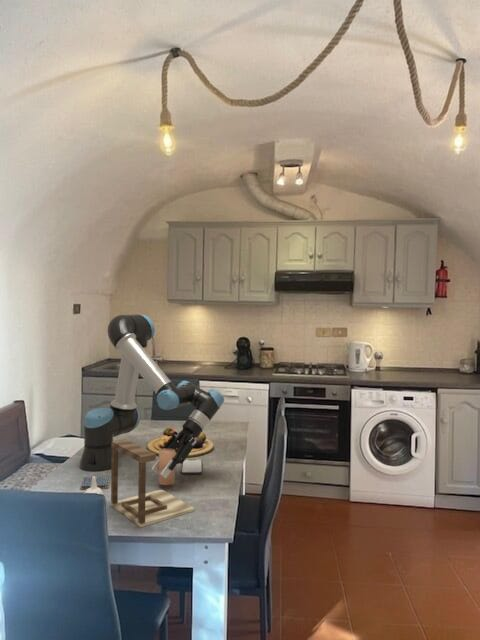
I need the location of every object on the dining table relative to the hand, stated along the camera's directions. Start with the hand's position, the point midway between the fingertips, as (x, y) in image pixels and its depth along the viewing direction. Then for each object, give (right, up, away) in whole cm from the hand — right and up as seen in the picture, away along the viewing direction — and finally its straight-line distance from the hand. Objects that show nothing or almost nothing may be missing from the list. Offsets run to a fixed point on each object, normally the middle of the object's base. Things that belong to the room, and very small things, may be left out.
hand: (158, 473), depth 184 cm
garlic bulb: (-21, -6, -10) cm, 24 cm away
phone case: (+10, -6, +24) cm, 27 cm away
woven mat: (-24, -6, +4) cm, 25 cm away
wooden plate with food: (+2, -5, +53) cm, 53 cm away
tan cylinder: (+3, -4, +2) cm, 5 cm away
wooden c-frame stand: (+1, -6, -17) cm, 18 cm away
